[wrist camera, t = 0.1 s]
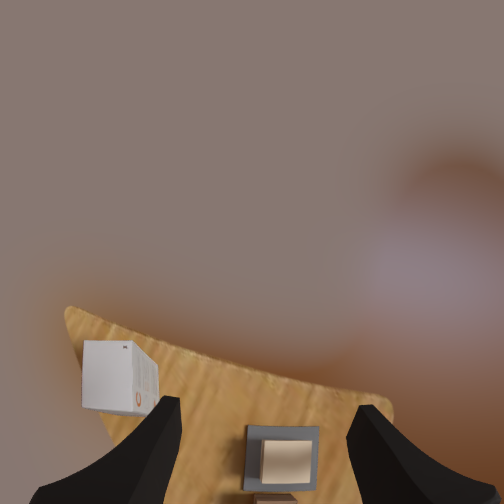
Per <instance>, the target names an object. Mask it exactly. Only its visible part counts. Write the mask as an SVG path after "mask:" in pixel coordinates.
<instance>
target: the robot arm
mask: <svg viewBox="0 0 504 504" xmlns="http://www.w3.org/2000/svg"><path fill="white" fill-rule="evenodd" d="M181 434H182V423H181V410H180V398H178V397H171V396H163V397H162V398H161V399H160V401H159V402H158V403H157V405H156V406H155V407H154V408H153V410H152V411H151V412H150V413H149V414H148V415H147V417H146V418H145V419H144V420H143V421H142V422H141V423H140V424H139V425H138V426H137V428H136V429H135V430H134V431H133V432H132V433H131V434H129V435H128V436H127V437H126V438H125V439H124V440H123V441H122V442H121V443H120V444H119V445H117V446H116V447H115V448H114V449H113V450H111V451H110V452H109V453H107V454H106V455H105V456H103V457H102V458H100V459H99V460H97V461H96V462H94V463H93V464H91V465H90V466H88V467H86V468H84V469H82V470H80V471H79V472H76V473H74V474H72V475H70V476H68V477H66V478H64V479H61V480H59V481H56V482H54V483H51V484H48V485H45V486H42V487H39V488H38V490H37V491H36V492H35V494H34V495H33V497H32V499H31V501H30V503H29V504H163V501H164V497H165V493H166V490H167V487H168V483H169V480H170V477H171V474H172V471H173V467H174V464H175V461H176V458H177V455H178V451H179V446H180V440H181ZM346 440H347V447H348V453H349V458H350V461H351V465H352V468H353V471H354V474H355V478H356V481H357V484H358V487H359V491H360V494H361V498H362V502H363V504H499V503H500V502H501V497H500V495H499V493H498V492H497V490H496V488H495V486H493V485H490V484H486V483H483V482H480V481H476V480H473V479H470V478H468V477H465V476H463V475H461V474H459V473H456V472H454V471H452V470H450V469H448V468H447V467H445V466H443V465H441V464H440V463H438V462H437V461H435V460H434V459H432V458H431V457H429V456H428V455H426V454H425V453H424V452H422V451H421V450H420V449H418V448H417V447H416V446H415V445H414V444H413V443H411V442H410V441H409V440H408V439H407V438H406V437H405V436H404V435H403V434H401V433H400V432H399V431H398V430H397V429H396V428H395V427H394V426H393V425H392V424H391V423H390V422H389V421H388V420H387V419H386V418H385V417H384V416H383V415H382V414H381V413H380V411H379V410H378V409H377V408H376V407H375V406H374V405H359V407H358V410H357V412H356V415H355V417H354V420H353V422H352V424H351V427H350V429H349V431H348V434H347V436H346Z"/></svg>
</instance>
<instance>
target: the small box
mask: <svg viewBox="0 0 504 504" xmlns="http://www.w3.org/2000/svg"><path fill="white" fill-rule="evenodd" d="M158 402H159V380H158V365H157V364H156V363H155V362H154V361H153V360H152V359H151V358H150V357H149V356H148V355H147V354H146V353H144V352H143V351H142V350H141V349H140V348H139V347H138V346H137V344H135V343H134V341H133V340H128V341H88V340H84V343H83V360H82V408H85V409H90V410H94V411H99V412H103V413H109V414H114V415H120V416H136V417H147V415H148V414H149V413H150V412H151V411H152V410H153V408H154V407H155V406H156V405H157V403H158Z"/></svg>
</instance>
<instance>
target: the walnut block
mask: <svg viewBox="0 0 504 504" xmlns="http://www.w3.org/2000/svg"><path fill="white" fill-rule="evenodd" d="M297 502H298V501H297V500H296V499H295V498H294V497H293V496H292V495H291V494H254V503H253V504H297Z"/></svg>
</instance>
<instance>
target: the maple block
mask: <svg viewBox="0 0 504 504" xmlns="http://www.w3.org/2000/svg"><path fill="white" fill-rule="evenodd" d="M311 452H312V441H310V440H262V445H261V460H260V475H259V479H260V481H261V482H262V483H264V484H290V483H310V471H311Z"/></svg>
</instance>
